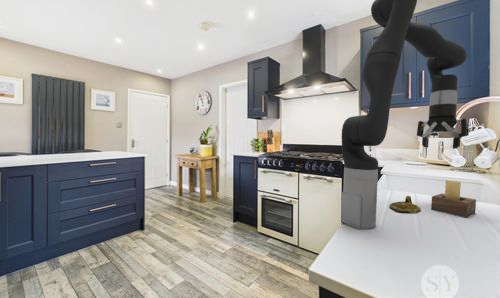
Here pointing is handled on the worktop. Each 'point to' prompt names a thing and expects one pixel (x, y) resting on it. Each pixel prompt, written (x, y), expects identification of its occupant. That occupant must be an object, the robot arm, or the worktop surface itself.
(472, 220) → the worktop surface
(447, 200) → the socket block
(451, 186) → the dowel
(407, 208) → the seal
